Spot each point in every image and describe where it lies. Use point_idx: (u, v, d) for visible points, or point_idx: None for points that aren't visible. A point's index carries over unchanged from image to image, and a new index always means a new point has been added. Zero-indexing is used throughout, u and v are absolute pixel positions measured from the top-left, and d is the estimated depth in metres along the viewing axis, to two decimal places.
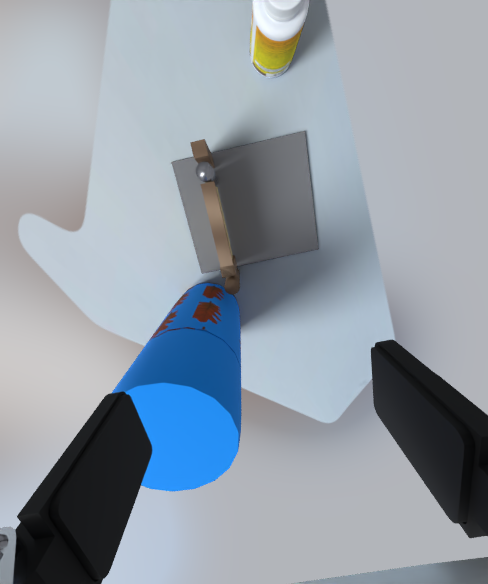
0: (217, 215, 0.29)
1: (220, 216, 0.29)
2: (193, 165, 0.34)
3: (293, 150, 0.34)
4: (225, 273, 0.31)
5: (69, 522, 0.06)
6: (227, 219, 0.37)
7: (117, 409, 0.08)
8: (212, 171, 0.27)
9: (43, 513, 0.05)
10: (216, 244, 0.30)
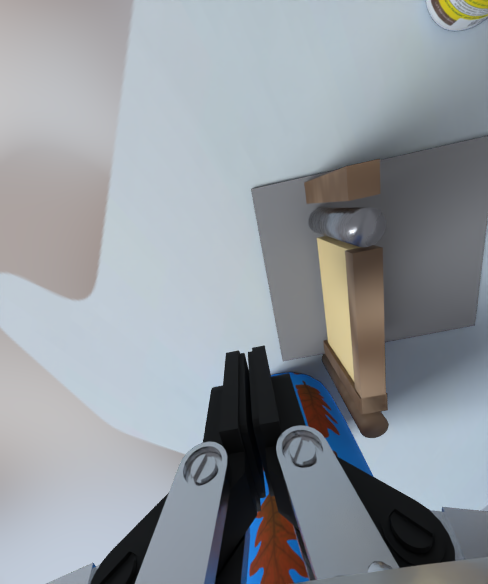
0: (375, 311, 0.14)
1: (380, 313, 0.14)
2: (289, 194, 0.19)
3: (469, 168, 0.19)
4: (368, 407, 0.16)
5: (250, 442, 0.07)
6: None
7: (244, 363, 0.09)
8: (383, 227, 0.13)
9: (237, 430, 0.06)
10: (361, 361, 0.15)
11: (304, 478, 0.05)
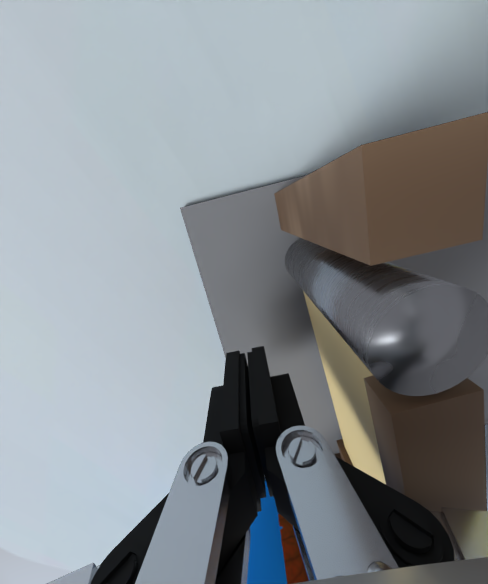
0: None
1: None
2: (248, 215, 0.11)
3: None
4: None
5: (251, 442, 0.07)
6: None
7: (244, 363, 0.09)
8: (484, 336, 0.04)
9: (238, 430, 0.06)
10: None
11: (304, 478, 0.05)
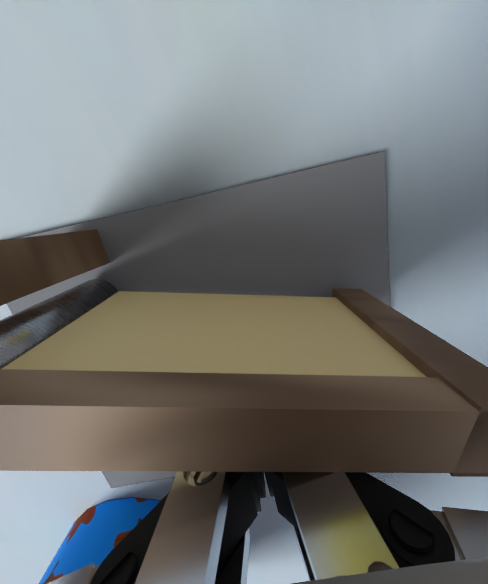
0: (147, 428, 0.04)
1: (156, 414, 0.04)
2: None
3: (345, 209, 0.11)
4: None
5: None
6: None
7: None
8: None
9: None
10: (316, 465, 0.05)
11: (304, 478, 0.05)
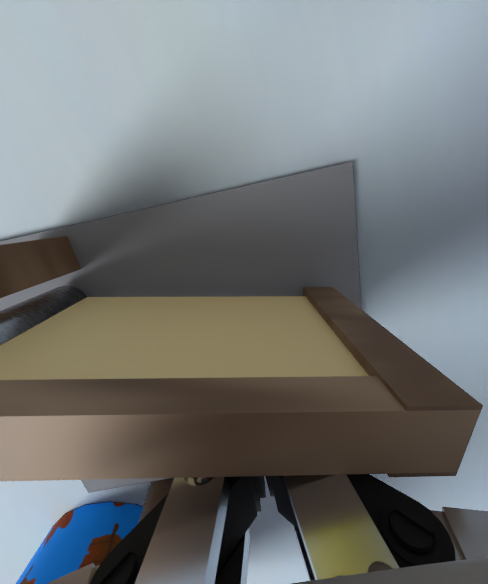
0: (69, 437, 0.04)
1: (76, 423, 0.04)
2: None
3: (314, 218, 0.11)
4: (437, 457, 0.05)
5: None
6: None
7: None
8: None
9: None
10: (247, 469, 0.05)
11: (304, 478, 0.05)
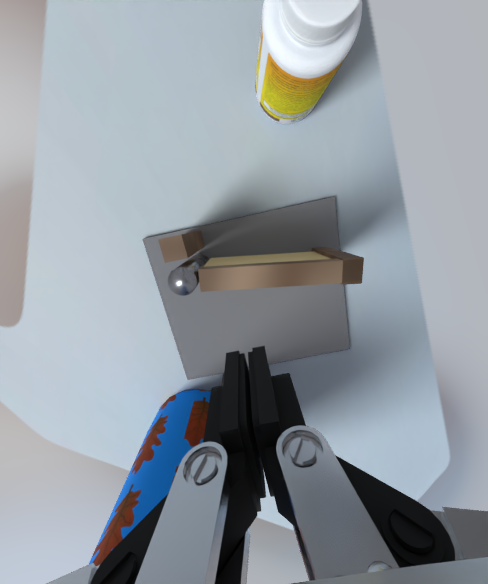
0: (252, 273, 0.17)
1: (255, 268, 0.17)
2: None
3: (317, 222, 0.24)
4: (354, 276, 0.17)
5: (250, 442, 0.07)
6: (222, 312, 0.26)
7: (244, 363, 0.09)
8: (183, 269, 0.17)
9: (237, 430, 0.06)
10: (300, 283, 0.17)
11: (304, 478, 0.05)
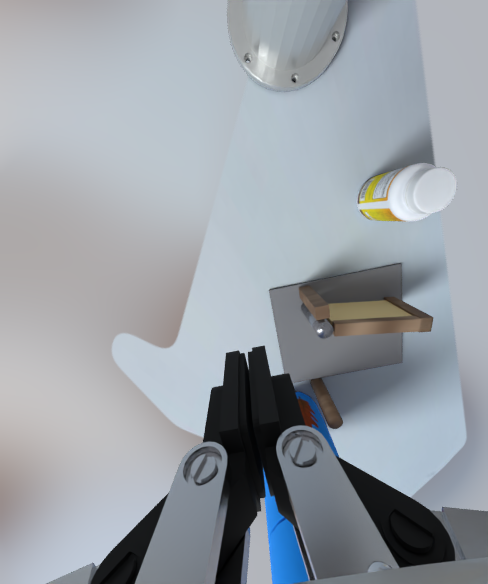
0: (367, 326, 0.28)
1: (369, 323, 0.28)
2: (290, 293, 0.35)
3: (388, 280, 0.35)
4: (427, 327, 0.28)
5: (250, 442, 0.07)
6: (317, 338, 0.38)
7: (244, 363, 0.09)
8: (326, 323, 0.28)
9: (237, 430, 0.06)
10: (394, 331, 0.28)
11: (304, 478, 0.05)
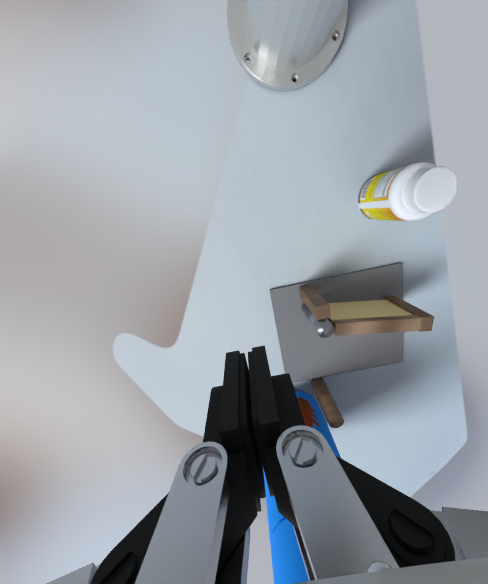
0: (367, 325, 0.28)
1: (369, 322, 0.28)
2: (290, 292, 0.35)
3: (389, 279, 0.35)
4: (427, 326, 0.28)
5: (250, 442, 0.07)
6: (317, 337, 0.38)
7: (244, 363, 0.09)
8: (327, 323, 0.28)
9: (237, 430, 0.06)
10: (395, 330, 0.28)
11: (304, 478, 0.05)
